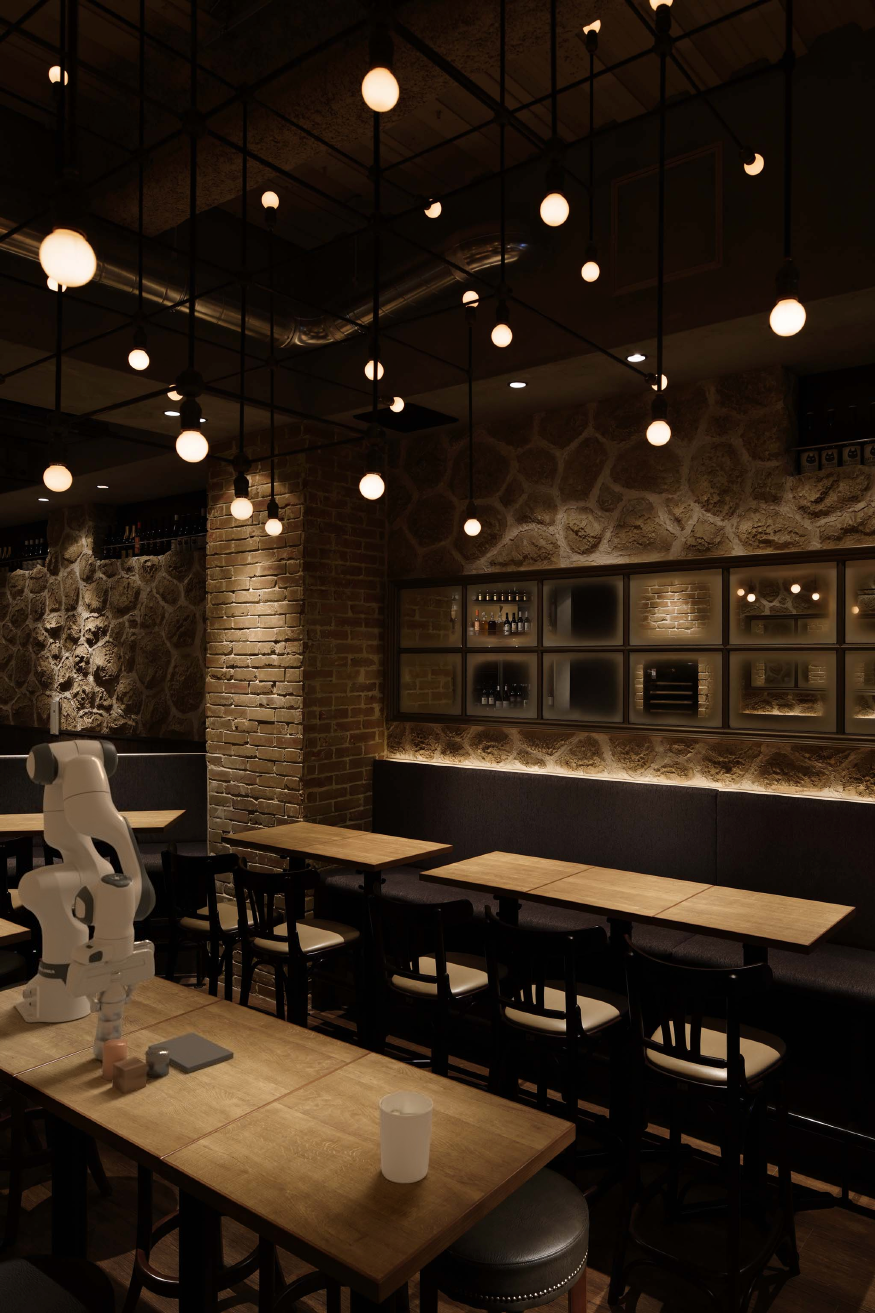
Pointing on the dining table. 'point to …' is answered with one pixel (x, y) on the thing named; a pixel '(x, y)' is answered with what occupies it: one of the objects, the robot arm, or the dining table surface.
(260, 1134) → the dining table surface
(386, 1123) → the candle holder
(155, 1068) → the dark metal tin
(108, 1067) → the terracotta jar
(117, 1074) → the walnut block
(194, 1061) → the charcoal board
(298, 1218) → the dining table surface
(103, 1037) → the plastic bottle
